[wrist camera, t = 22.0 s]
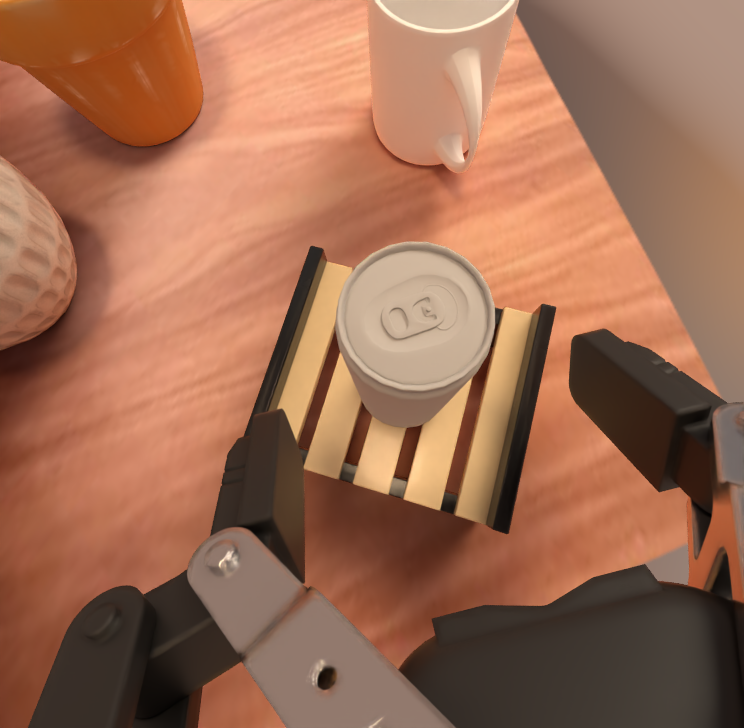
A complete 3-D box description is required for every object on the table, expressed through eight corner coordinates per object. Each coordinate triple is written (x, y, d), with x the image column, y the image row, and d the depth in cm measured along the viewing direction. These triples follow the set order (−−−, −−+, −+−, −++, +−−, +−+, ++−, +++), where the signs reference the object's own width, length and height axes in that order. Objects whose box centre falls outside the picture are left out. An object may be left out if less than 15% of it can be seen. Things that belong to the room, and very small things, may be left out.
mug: (402, 221, 32) (408, 103, 21) (360, 92, 34) (348, -68, 24) (513, 191, 32) (573, 60, 21) (463, 66, 35) (494, -105, 24)
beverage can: (459, 412, 23) (528, 362, 12) (376, 442, 23) (363, 420, 12) (427, 333, 25) (462, 215, 13) (348, 361, 24) (310, 267, 13)
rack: (520, 340, 29) (557, 306, 23) (480, 517, 27) (508, 534, 20) (326, 290, 31) (310, 244, 24) (272, 453, 28) (237, 451, 22)
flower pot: (111, 17, 37) (-32, -211, 25) (262, 51, 36) (192, -174, 23) (36, 152, 34) (-169, -28, 22) (197, 195, 33) (77, 29, 20)
